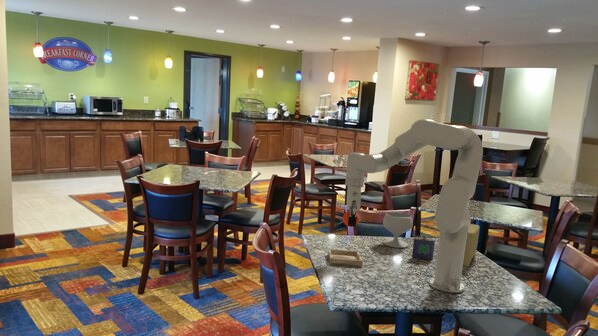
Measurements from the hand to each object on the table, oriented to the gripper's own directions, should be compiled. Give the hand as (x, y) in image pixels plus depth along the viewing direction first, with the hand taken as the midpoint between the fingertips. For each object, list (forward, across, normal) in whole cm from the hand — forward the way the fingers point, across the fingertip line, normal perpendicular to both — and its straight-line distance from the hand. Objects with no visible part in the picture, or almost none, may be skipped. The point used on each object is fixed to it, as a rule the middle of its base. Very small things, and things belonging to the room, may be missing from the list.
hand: (350, 223), depth 196 cm
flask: (+16, +10, -34) cm, 39 cm away
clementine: (+2, 0, 0) cm, 2 cm away
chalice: (+16, +29, -26) cm, 42 cm away
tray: (+16, -1, +1) cm, 16 cm away
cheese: (+16, +13, -55) cm, 59 cm away
